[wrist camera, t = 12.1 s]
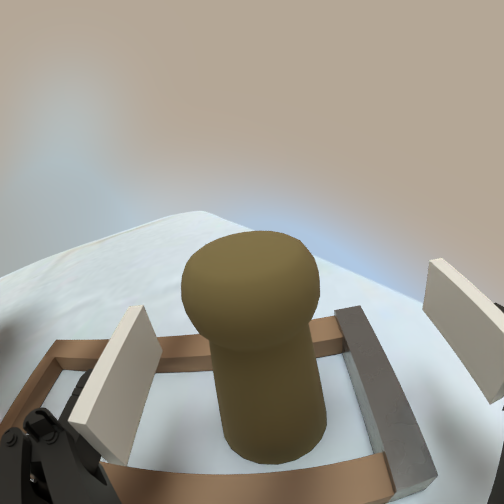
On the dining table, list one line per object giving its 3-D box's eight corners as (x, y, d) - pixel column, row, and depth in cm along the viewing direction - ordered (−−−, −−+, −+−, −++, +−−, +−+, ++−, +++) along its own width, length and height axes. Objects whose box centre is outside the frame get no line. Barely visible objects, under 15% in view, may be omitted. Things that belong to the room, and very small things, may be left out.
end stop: (387, 502, 8) (396, 491, 8) (334, 331, 21) (334, 310, 20) (424, 489, 8) (438, 475, 7) (359, 326, 21) (360, 305, 20)
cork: (299, 370, 18) (285, 207, 14) (346, 436, 13) (367, 250, 8) (212, 400, 17) (156, 239, 12) (240, 479, 11) (163, 312, 7)
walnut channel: (-1, 460, 10) (-14, 449, 9) (63, 351, 23) (56, 339, 22) (387, 502, 8) (394, 494, 8) (334, 331, 21) (334, 315, 21)
